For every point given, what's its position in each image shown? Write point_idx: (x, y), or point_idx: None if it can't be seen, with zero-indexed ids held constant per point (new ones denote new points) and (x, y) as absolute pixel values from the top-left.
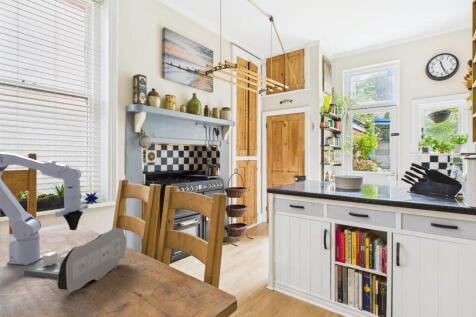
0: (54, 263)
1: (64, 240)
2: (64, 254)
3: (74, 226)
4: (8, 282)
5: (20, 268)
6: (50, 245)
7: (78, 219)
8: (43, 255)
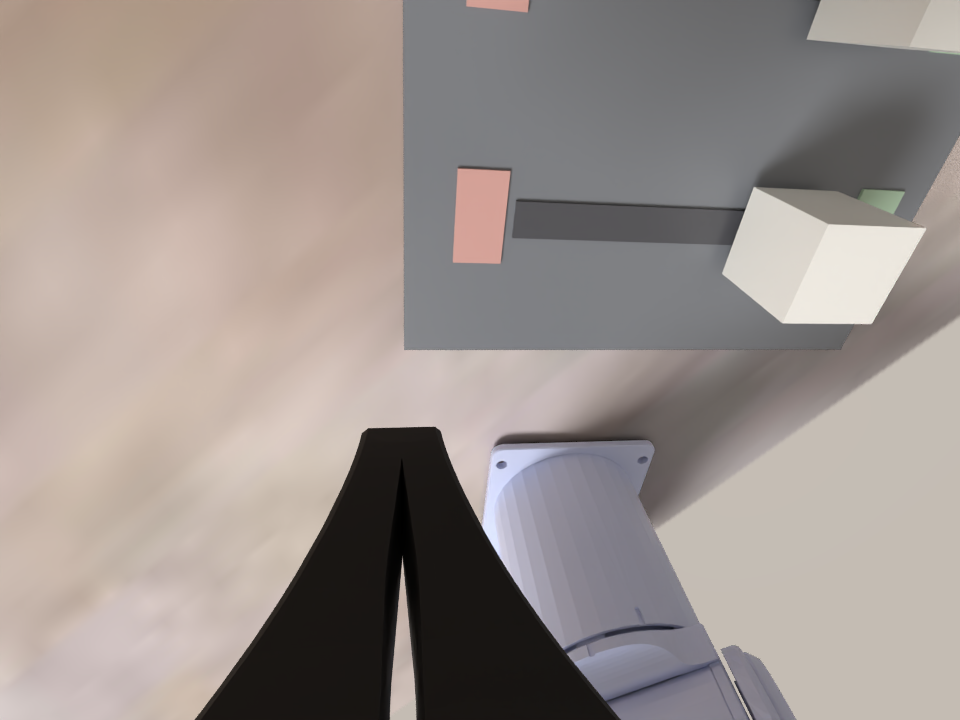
0: (744, 210)
1: (135, 578)
2: (952, 43)
3: (456, 481)
4: (920, 328)
5: (695, 435)
6: (274, 579)
7: (314, 640)
8: (874, 313)
